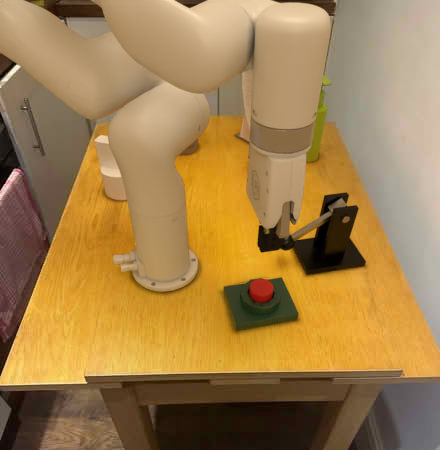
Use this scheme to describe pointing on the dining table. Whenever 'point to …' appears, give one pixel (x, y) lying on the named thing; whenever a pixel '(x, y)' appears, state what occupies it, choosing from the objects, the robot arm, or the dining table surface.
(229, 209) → the dining table surface
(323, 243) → the bracket
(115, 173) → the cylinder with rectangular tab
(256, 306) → the button box
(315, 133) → the soap dispenser
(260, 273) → the dining table surface
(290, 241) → the lever
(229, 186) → the dining table surface
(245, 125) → the skyscraper
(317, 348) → the dining table surface
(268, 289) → the button
